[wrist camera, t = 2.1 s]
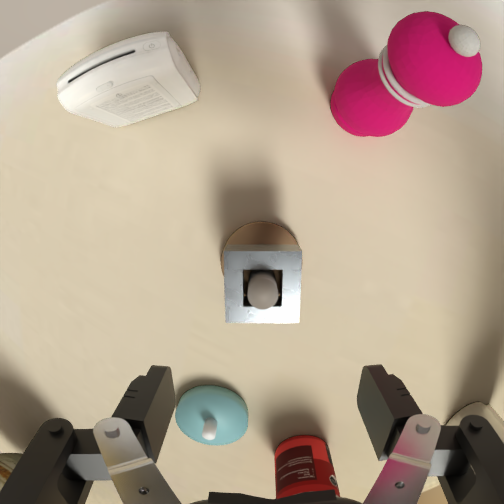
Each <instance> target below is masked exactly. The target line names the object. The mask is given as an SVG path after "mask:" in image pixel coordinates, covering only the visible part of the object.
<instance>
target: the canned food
mask: <svg viewBox="0 0 504 504" xmlns="http://www.w3.org/2000/svg"><path fill="white" fill-rule="evenodd" d="M275 480H276V499H279V498H283V497H287V496H291V495H295V494H299V493H303V492H311V491H322V490H331V489H335V493H336V497H340V493H339V489H338V484H337V480H336V476H335V472H334V467H333V463H332V459H331V455H330V451H329V448H328V446H327V444H326V443H325V442H324V441H323V440H322V439H320V438H318V437H315V436H310V435H300V436H294V437H291V438H289V439H286V440H285V441H283V442H282V443H281V444H280V445H279V446H278V447H277V449H276V452H275Z"/></svg>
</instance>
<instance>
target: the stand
mask: <svg viewBox="0 0 504 504" xmlns="http://www.w3.org/2000/svg"><path fill="white" fill-rule="evenodd" d="M227 244H255V245H298V244H297V242H296V241H295V239H294V237H293V236H292V235H291V234H290V233H289V232H288V231H287V230H286V229H284V228H283V227H281V226H279V225H277V224H274V223H270V222H254V223H250V224H247V225H244V226H242V227H241V228H239V229H238V230H236V231H235V232H234V233H233V234H232V235H231V236H230V238H229V239H228V241H227V243H226V245H227ZM226 245H225V247H226ZM225 247H224V249H225ZM224 249H223V252H222V257H221V268H222V273H223V276H224ZM301 269H302V268H301ZM244 296H248V300H249V302H250V304H251V305H252V306H253V307H255V308H257V309H262V310H263V309H269V308H271V307H272V306H274V305H275V303H276V302H277V300H278V296H280V270H244Z"/></svg>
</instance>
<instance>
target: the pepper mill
mask: <svg viewBox="0 0 504 504" xmlns="http://www.w3.org/2000/svg"><path fill="white" fill-rule="evenodd" d="M479 49H480V39H479V37H478V35H477V33H476V32H475V31H474V30H473V29H471V28H470V27H468V26H465V25H459V24H458V23H457V22H455V21H454V20H452V19H450V18H448V17H446V16H444V15H442V14H439V13H435V12H428V11H425V12H418V13H413V14H410V15H408V16H406V17H405V18H403V19H402V20H400V21H399V22H398V23H397V24H396V25H395V27H394V28H393V29H392V31H391V34H390V36H389V38H388V44H387V45H386V46H385V47H384V48H383V50H382V51H381V53H380V55H379V59H366V60H361V61H358V62H356V63H353V64H352V65H350V66H349V67H348V68H346V69H345V70H344V71H343V72H342V73H341V74H340V76H339V78H338V79H337V82H336V85H335V90H334V91H333V94H332V96H331V111H332V114H333V116H334V119H335V120H336V122H337V123H338V124H339V126H340V127H342V128H343V129H344V130H345V131H347V132H348V133H350V134H353V135H356V136H363V137H365V136H375V137H380V136H386V135H389V134H392V133H394V132H395V131H397V130H399V129H400V128H401V127H402V126H403V125H404V124H405V123H406V122H407V120H408V119H409V117H410V115H411V113H412V111H413V107H417V108H421V107H427V106H429V105H436V106H442V107H444V106H452V105H456V104H459V103H461V102H463V101H464V100H466V99H468V98H469V97H471V95H472V94H473V93H474V92H475V91H476V89H477V87H478V85H479V83H480V79H481V75H482V61H481V56H480V53H479Z"/></svg>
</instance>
